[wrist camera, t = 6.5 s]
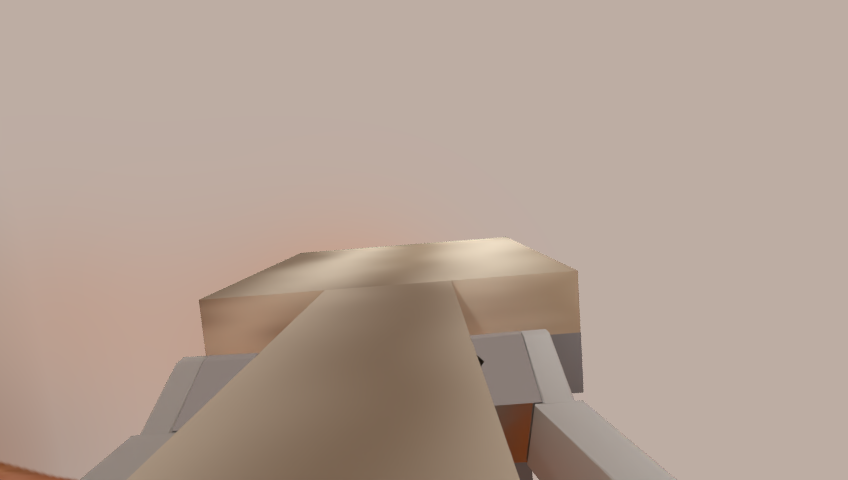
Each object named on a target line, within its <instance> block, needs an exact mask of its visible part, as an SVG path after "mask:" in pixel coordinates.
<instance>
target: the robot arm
mask: <svg viewBox="0 0 848 480" xmlns="http://www.w3.org/2000/svg"><path fill="white" fill-rule="evenodd" d="M470 338H471V341H472V342H473V345H474V348H475V351H476V354H477V357H478V360H479V363H480V366H481V368H482V371H483V374H484V377H485V380H486V383H487V386H488V389H489V392H490V395H491V397H492V400H493V403H494V406H495V409H496V412H497V415H498V418H499V421H500V423H501V426H502V429H503V432H504V435H505V438H506V441H507V444H508V447H509V450H510V452H511V455H512V458H513V461H514V463H522V462H527V465H528V466H529V468H530V469H531V470H532V471H533V473H534V474H535V475H536V476H537V477H538V479H539V480H677V479H676V478H674V477H673V476H672V475H671V474H670V473H668V472H667V471H666V470H665V469H664V468H662V467H661V466H660V465H659V464H658V463H656V462H655V461H654V460H653V459H652V458H651V457H649V456H648V455H647V454H646V453H645V452H643V451H642V450H641V449H640V448H639V447H637V446H636V445H635V444H634V443H633V442H631V441H630V440H629V439H628V438H626V436H624V435H623V434H622V433H621V432H620V431H618V430H617V429H616V428H615V427H614V426H613V425H611V424H610V423H609V422H608V421H606V420H605V419H604V418H603V417H602V416H601V415H599V414H598V413H597V412H596V411H595V410H593V409H592V408H591V407H590V406H589V405H588V404H586V403H585V402H584V401H574V398H573V395H572V393H571V390H570V387H569V384H568V382H567V379H566V376H565V374H564V371H563V368H562V365H561V363H560V360H559V357H558V355H557V352H556V349H555V346H554V344H553V341H552V338H551V336H550V333H549V332H548V331H547V330H546V329H539V330H527V331H520V332H519V331H512V332H501V333H490V334H479V335H470ZM258 354H259V353H246V354H227V355H209V356H197V357H183V358H182V359H181V360H180V361H179V362H178V363H177V364H176V366H175V367H174V369H173V371H172V373H171V375H170V377H169V379H168V381H167V383H166V385H165V387H164V389H163V391H162V393H161V395H160V397H159V399H158V401H157V403H156V405H155V407H154V409H153V410H152V412H151V414H150V416H149V418H148V420H147V422H146V424H145V426H144V428H143V430H142V432H141V434H140V435H136V436H131V437H130V438H129V439H128V440H126V441H125V442H124V443H123V444H122V445H121V446H119V447H118V448H117V449H116V450H115V451H113V452H112V453H111V454H110V455H109V456H108V457H106V458H105V459H104V460H103V461H102V462H100V463H99V464H98V465H97V466H96V467H94V468H93V469H92V470H91V471H90V472H88V473H87V474H86V475H85V476H84V477H83V478H81V479H80V480H127V479H128V478H129V477H130V476H131V475H132V474H133V473H134V472H135V471H136V470H137V469H138V468H139V467H140V466H141V465H143V464H144V463H145V462H146V461H147V460H148V459H149V458H150V457H151V456H152V455H153V454H154V453H155V452H156V451H157V450H158V449H159V448H160V447H161V446H162V445H163V444H164V443H166V442H167V441H168V440H169V439H170V438H171V437H172V436H173V435H174V434H175V433H176V432H177V431H178V430H179V429H180V428H181V427H182V426H183V425H184V424H185V423H186V422H188V421H189V420H190V419H191V418H192V417H193V416H194V415H195V414H196V413H197V412H198V411H199V410H200V409H201V408H202V407H203V406H204V405H205V404H206V403H207V402H208V401H209V400H211V399H212V398H213V397H214V396H215V395H216V394H217V393H218V392H219V391H220V390H221V389H222V388H223V387H224V386H225V385H226V384H227V383H228V382H229V381H230V380H231V379H233V378H234V377H235V376H236V375H237V374H238V373H239V372H240V371H241V370H242V369H243V368H244V367H245V366H246V365H247V364H248V363H249V362H250V361H251V360H252V359H253V358H255V357H256V356H257V355H258Z"/></svg>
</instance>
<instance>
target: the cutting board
mask: <svg viewBox="0 0 848 480" xmlns="http://www.w3.org/2000/svg"><path fill="white" fill-rule="evenodd" d="M578 291H579V290H578V271H577V270H575V269H573V268H571V267H569V266H567V265H565V264H563V263H560V262H558V261H556V260H554V259H552V258H550V257H548V256H546V255H543V254H541V253H539V252H537V251H535V250H532V249H531V248H528V247H526V246H524V245H522V244H520V243H518V242H516V241H514V240H512V239H510V238H508V237H501V238H489V239H476V240H464V241H450V242H438V243H424V244H411V245H399V246H385V247H372V248H360V249H347V250H334V251H322V252H308V253H300V254H298V255H296V256H294V257H291V258H289V259H287V260H285V261H283V262H280V263H279V264H276V265H274V266H272V267H269V268H267V269H265V270H263V271H261V272H259V273H257V274H254V275H252V276H250V277H248V278H246V279H243V280H241V281H239V282H237V283H235V284H233V285H230V286H228V287H226V288H224V289H222V290H219V291H217V292H215V293H213V294H211V295H209V296H206V297H204V298H202V299H200V300H199V304H200V312H201V319H202V328H203V336H204V344H205V351H206V356H209V355H227V354H246V353H259V354H258V355H257V356H256V357H255V358H253V359H252V360H251V361H250V362H249V363H248V364H247V365H246V366H245V367H244V368H243V369H242V370H241V371H240V372H239V373H238V374H237V375H236V376H235V377H234V378H233V379H231V380H230V381H229V382H228V383H227V384H226V385H225V386H224V387H223V388H222V389H221V390H220V391H219V392H218V393H217V394H216V395H215V396H214V397H213V398H212V399H211V400H209V401H208V402H207V403H206V404H205V405H204V406H203V407H202V408H201V409H200V410H199V411H198V412H197V413H196V414H195V415H194V416H193V417H192V418H191V419H190V420H189V421H188V422H186V423H185V424H184V425H183V426H182V427H181V428H180V429H179V430H178V431H177V432H176V433H175V434H174V435H173V436H172V437H171V438H170V439H169V440H168V441H167V442H166V443H164V444H163V445H162V446H161V447H160V448H159V449H158V450H157V451H156V452H155V453H154V454H153V455H152V456H151V457H150V458H149V459H148V460H147V461H146V462H145V463H144V464H143V465H141V466H140V467H139V468H138V469H137V470H136V471H135V472H134V473H133V474H132V475H131V476H130V477H129V478H128V479H127V480H520V479H519V476H518V473H517V470H516V467H515V464H514V461H513V458H512V455H511V452H510V450H509V447H508V444H507V441H506V438H505V435H504V432H503V429H502V426H501V423H500V421H499V418H498V415H497V412H496V409H495V406H494V403H493V400H492V397H491V395H490V392H489V389H488V386H487V383H486V380H485V377H484V374H483V371H482V368H481V366H480V363H479V360H478V357H477V354H476V351H475V348H474V345H473V342H472V341H471V338H470V335H479V334H490V333H501V332H512V331H519V332H520V331H527V330H539V329H546V330H547V331H548V332H549V333H550V335H553V334H566V333H579V332H580V313H579V292H578Z"/></svg>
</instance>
